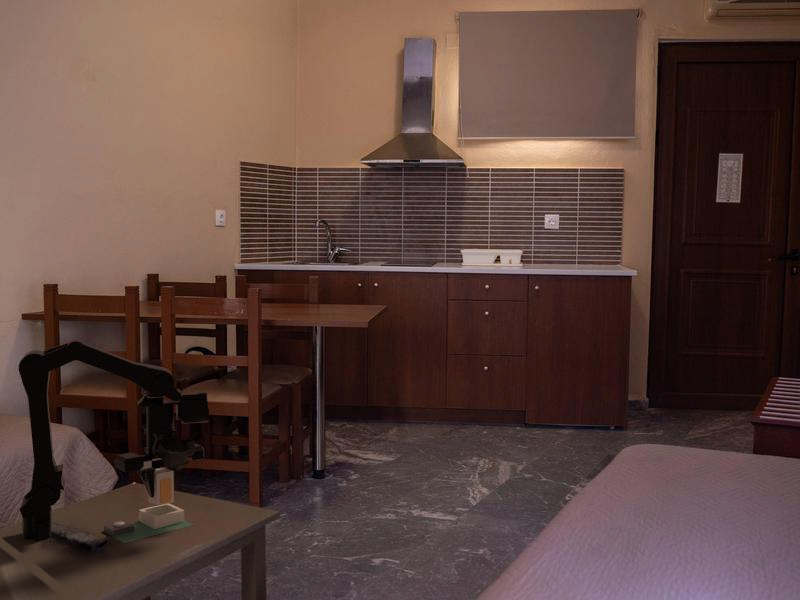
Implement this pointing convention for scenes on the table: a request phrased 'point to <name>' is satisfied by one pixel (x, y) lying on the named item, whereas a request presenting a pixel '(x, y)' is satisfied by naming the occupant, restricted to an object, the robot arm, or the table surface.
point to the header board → (155, 522)
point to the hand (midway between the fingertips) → (160, 495)
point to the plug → (163, 487)
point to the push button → (119, 528)
